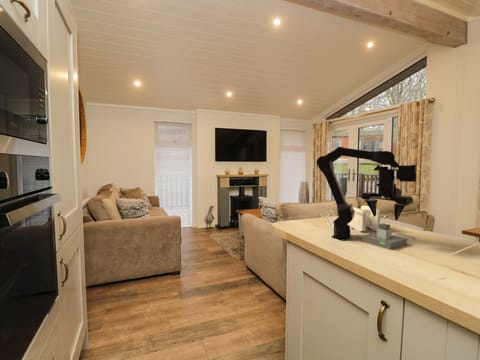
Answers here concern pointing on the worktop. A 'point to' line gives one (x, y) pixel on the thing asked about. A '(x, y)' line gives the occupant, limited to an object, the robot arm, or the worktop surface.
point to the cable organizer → (365, 219)
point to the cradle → (405, 236)
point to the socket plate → (384, 241)
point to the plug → (384, 231)
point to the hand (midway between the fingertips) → (385, 218)
